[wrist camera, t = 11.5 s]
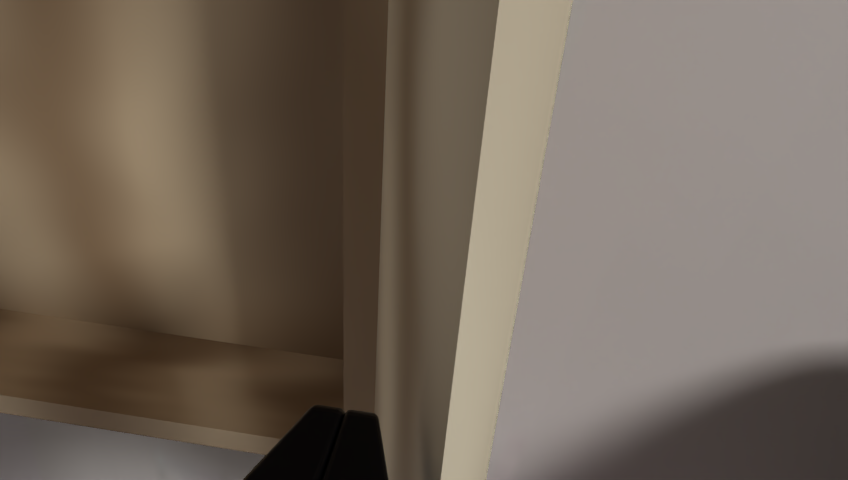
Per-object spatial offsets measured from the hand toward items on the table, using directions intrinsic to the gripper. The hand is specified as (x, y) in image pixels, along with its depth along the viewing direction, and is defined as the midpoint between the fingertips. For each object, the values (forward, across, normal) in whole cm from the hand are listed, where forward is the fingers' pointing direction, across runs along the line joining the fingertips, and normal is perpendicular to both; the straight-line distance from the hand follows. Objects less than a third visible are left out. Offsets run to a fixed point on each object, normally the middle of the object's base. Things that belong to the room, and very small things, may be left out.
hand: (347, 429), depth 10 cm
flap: (+3, 0, 0) cm, 3 cm away
